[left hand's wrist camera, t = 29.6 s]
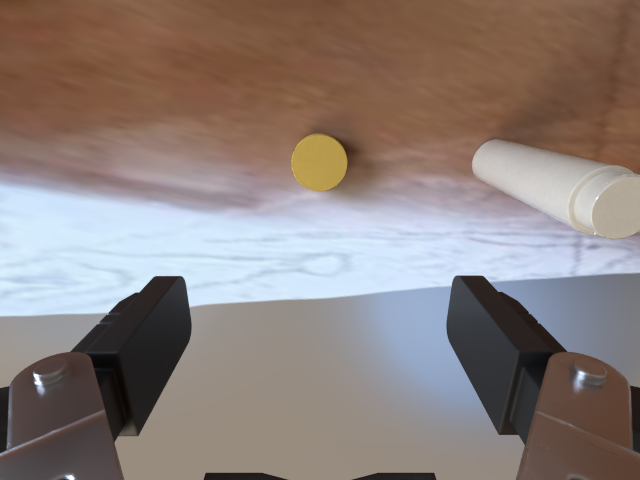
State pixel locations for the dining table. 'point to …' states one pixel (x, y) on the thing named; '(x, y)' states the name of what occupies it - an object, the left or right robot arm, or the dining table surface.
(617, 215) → the white cylinder
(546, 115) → the dining table surface
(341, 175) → the lid
